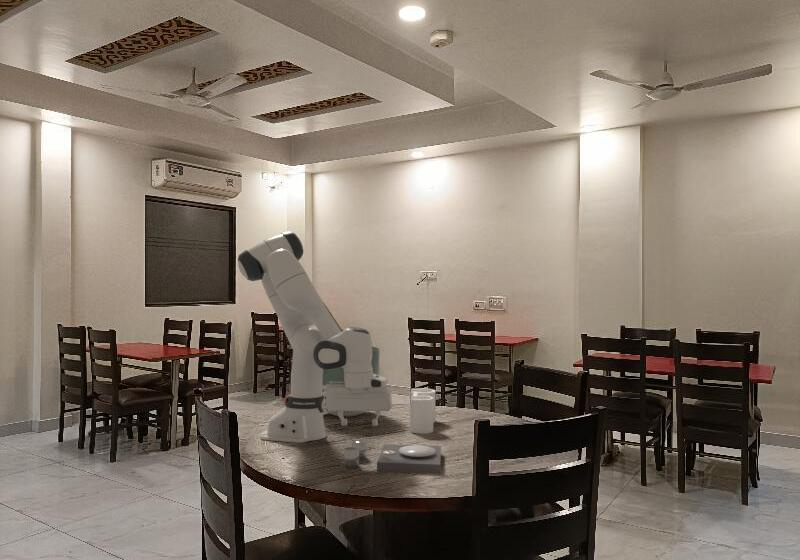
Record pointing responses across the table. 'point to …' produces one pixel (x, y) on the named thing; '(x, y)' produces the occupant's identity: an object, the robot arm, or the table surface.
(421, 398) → the c-shaped pipe clip
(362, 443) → the cylinder
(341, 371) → the planter
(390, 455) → the scale
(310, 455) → the table surface
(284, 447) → the table surface
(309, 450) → the table surface
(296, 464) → the table surface
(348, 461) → the spacer
